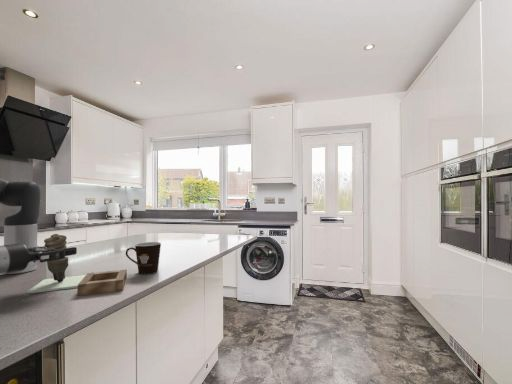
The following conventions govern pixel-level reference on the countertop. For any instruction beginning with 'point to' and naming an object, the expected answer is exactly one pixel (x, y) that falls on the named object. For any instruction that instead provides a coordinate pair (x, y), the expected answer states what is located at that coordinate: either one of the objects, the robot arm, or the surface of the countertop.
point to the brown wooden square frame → (102, 282)
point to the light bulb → (61, 264)
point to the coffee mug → (146, 257)
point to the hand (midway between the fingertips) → (67, 249)
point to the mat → (57, 284)
